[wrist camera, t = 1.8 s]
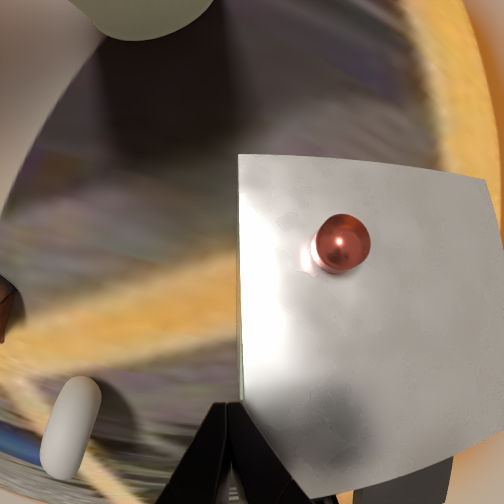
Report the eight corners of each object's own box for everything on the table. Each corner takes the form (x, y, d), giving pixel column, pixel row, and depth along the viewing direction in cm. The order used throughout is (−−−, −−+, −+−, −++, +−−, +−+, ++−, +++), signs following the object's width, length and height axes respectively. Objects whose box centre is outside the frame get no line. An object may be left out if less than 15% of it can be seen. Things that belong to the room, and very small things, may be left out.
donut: (92, 422, 25) (68, 499, 16) (63, 407, 24) (32, 481, 15) (117, 366, 23) (83, 461, 13) (81, 346, 22) (34, 435, 12)
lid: (491, 466, 10) (514, 473, 8) (250, 541, 9) (254, 568, 7) (475, 186, 15) (497, 170, 13) (237, 166, 14) (239, 137, 12)
